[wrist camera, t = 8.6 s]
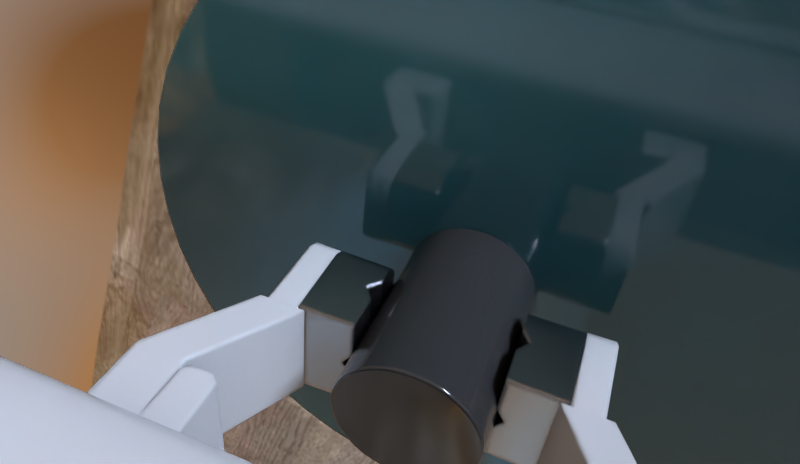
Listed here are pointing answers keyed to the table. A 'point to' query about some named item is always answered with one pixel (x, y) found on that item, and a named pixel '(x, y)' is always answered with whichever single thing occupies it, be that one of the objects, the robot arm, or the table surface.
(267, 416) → the table surface
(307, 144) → the pot lid
